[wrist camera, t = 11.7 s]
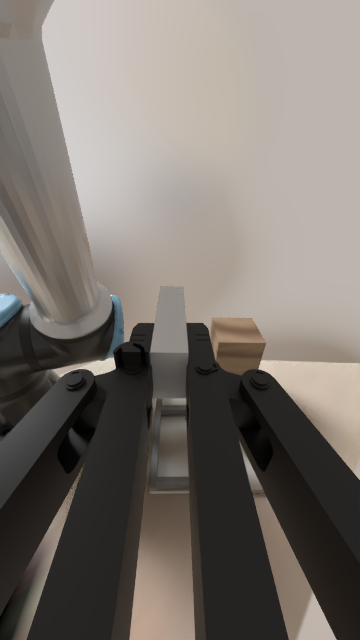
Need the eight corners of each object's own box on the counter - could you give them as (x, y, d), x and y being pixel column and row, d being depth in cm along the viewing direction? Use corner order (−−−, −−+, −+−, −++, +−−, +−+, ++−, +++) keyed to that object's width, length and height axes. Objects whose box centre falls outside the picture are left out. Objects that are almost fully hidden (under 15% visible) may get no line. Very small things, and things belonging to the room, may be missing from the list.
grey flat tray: (288, 492, 32) (295, 483, 31) (149, 493, 32) (148, 485, 30) (243, 371, 53) (246, 362, 52) (160, 371, 53) (159, 362, 51)
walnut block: (247, 403, 44) (266, 342, 36) (209, 403, 44) (218, 342, 36) (238, 375, 51) (251, 318, 42) (205, 374, 51) (212, 317, 42)
